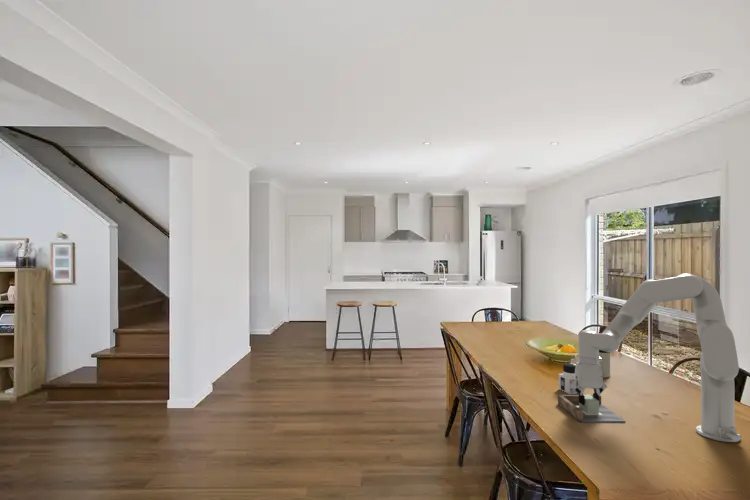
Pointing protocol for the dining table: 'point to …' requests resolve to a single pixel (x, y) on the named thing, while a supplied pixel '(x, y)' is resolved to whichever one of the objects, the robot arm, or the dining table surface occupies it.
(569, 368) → the container
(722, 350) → the robot arm
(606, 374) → the travel mug
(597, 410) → the sage block
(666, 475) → the dining table surface
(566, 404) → the shallow tray
